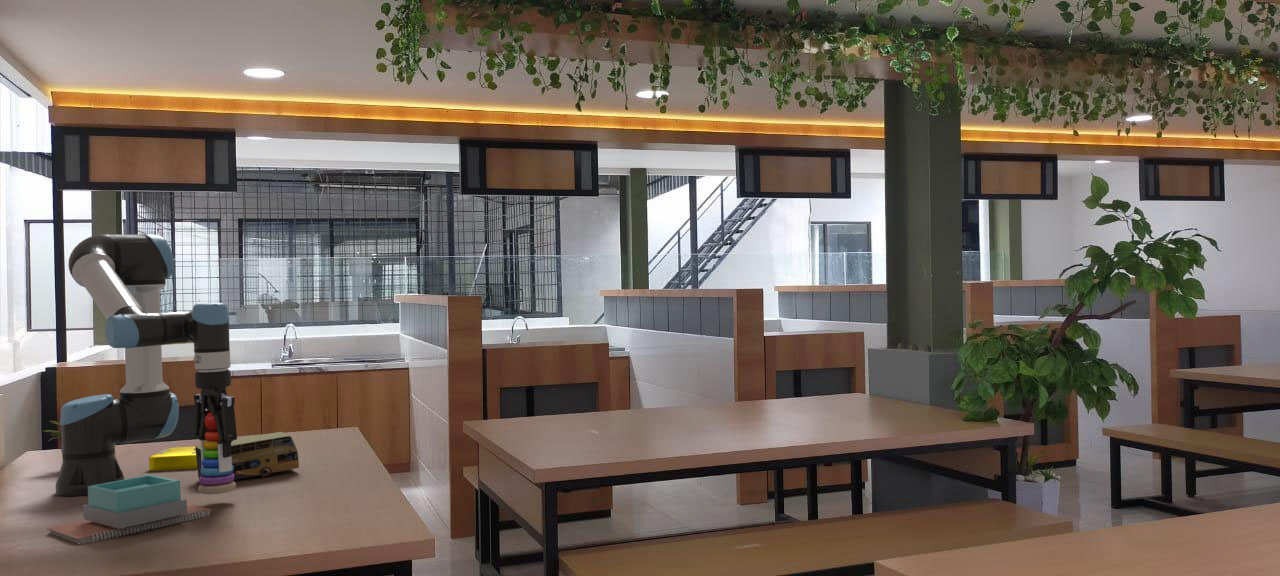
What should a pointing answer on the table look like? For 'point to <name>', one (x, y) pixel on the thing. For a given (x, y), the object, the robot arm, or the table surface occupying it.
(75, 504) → the table surface
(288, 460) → the toy bus
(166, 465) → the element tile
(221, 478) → the stacking toy
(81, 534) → the notebook
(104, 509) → the brick base
